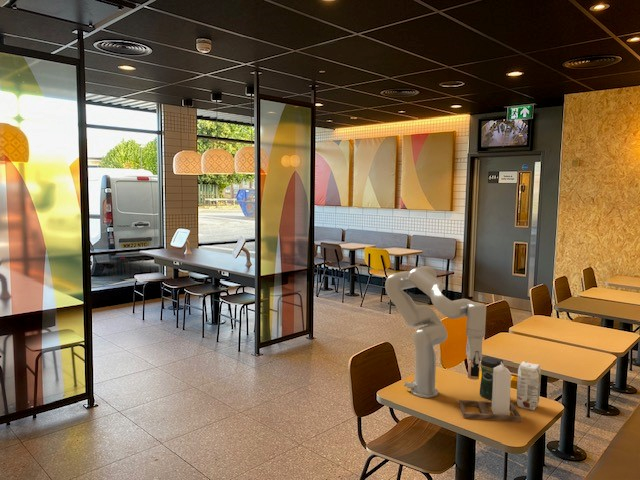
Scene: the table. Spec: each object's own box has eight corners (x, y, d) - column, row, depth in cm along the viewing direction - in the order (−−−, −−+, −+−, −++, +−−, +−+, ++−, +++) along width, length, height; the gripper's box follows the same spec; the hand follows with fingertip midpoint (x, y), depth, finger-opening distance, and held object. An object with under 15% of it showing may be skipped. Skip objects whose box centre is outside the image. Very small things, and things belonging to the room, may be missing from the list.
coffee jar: (504, 397, 220) (506, 358, 218) (496, 402, 214) (498, 362, 212) (485, 391, 227) (486, 353, 225) (476, 395, 221) (478, 356, 219)
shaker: (468, 379, 202) (469, 358, 201) (466, 375, 206) (467, 354, 205) (479, 379, 201) (481, 358, 200) (477, 375, 206) (478, 355, 205)
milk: (505, 411, 206) (508, 361, 204) (509, 417, 200) (512, 366, 198) (491, 409, 207) (493, 360, 205) (494, 416, 201) (496, 365, 199)
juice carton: (535, 412, 205) (538, 369, 203) (515, 406, 210) (517, 364, 208) (540, 405, 211) (542, 364, 209) (519, 400, 216) (521, 360, 214)
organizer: (463, 418, 199) (463, 413, 199) (458, 404, 212) (458, 399, 212) (521, 422, 196) (521, 417, 196) (512, 407, 209) (512, 403, 209)
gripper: (463, 325, 210) (461, 365, 212) (469, 337, 194) (467, 380, 196) (480, 326, 209) (478, 366, 211) (489, 338, 193) (486, 382, 195)
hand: (473, 373), depth 203 cm, fingers closed on shaker, 4 cm apart
